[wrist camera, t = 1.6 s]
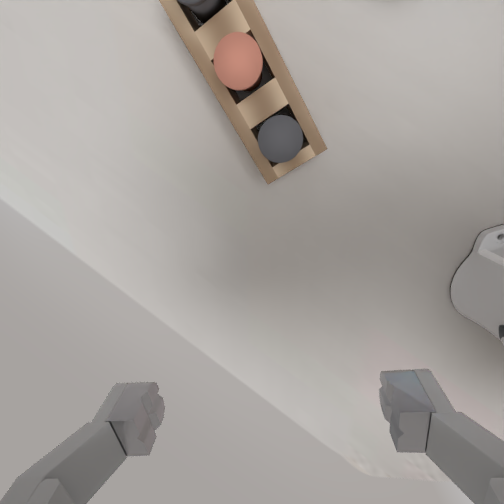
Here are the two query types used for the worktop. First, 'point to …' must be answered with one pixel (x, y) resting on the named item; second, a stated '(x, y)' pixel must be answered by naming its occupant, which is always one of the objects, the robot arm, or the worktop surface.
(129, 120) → the worktop surface
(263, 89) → the oak socket block
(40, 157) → the worktop surface
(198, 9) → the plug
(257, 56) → the plug mid
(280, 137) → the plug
